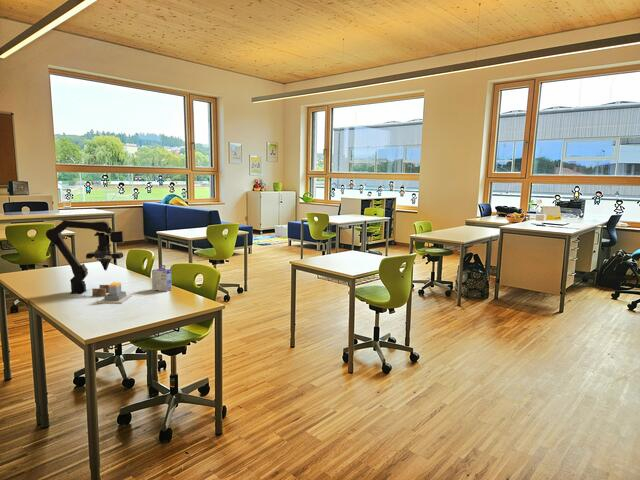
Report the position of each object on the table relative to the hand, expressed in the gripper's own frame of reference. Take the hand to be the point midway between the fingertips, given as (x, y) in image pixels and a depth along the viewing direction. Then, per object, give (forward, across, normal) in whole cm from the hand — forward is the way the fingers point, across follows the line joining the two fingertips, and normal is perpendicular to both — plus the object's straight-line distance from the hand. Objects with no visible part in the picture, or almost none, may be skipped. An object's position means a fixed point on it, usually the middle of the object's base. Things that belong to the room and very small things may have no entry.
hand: (105, 270), depth 252 cm
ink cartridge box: (+12, +31, +2) cm, 33 cm away
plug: (+11, +13, -19) cm, 25 cm away
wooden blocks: (+12, +1, -7) cm, 14 cm away
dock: (+12, +13, -19) cm, 26 cm away
